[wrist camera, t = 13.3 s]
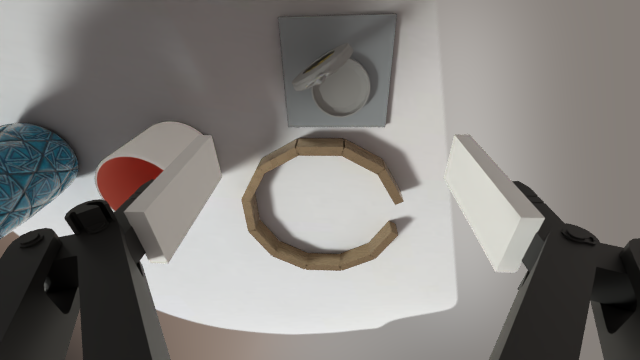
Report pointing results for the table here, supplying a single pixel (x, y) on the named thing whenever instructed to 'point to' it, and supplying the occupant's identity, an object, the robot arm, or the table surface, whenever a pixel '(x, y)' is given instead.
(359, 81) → the pocket watch
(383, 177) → the c ring
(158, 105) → the table surface
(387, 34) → the coaster
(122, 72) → the table surface
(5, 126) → the lamp
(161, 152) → the cup
